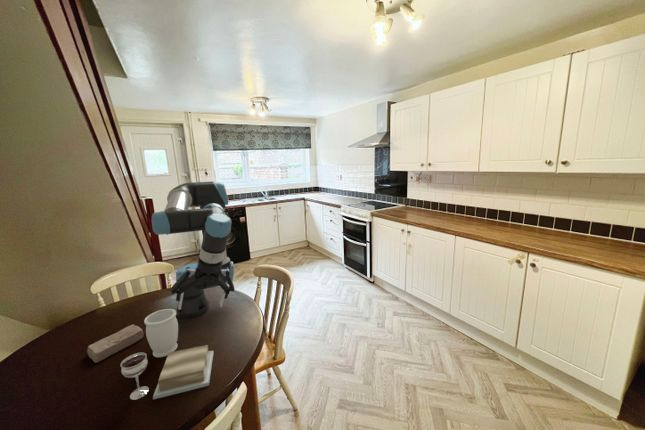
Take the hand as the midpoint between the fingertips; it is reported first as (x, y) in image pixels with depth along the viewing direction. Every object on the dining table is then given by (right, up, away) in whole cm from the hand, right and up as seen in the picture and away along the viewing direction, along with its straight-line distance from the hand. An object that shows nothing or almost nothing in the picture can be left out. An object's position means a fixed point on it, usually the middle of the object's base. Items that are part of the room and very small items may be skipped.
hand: (200, 305), depth 92 cm
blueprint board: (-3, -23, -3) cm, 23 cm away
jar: (-18, -21, +9) cm, 29 cm away
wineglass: (-15, -25, -11) cm, 31 cm away
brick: (-40, -21, +11) cm, 46 cm away
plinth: (-3, -23, -3) cm, 23 cm away
